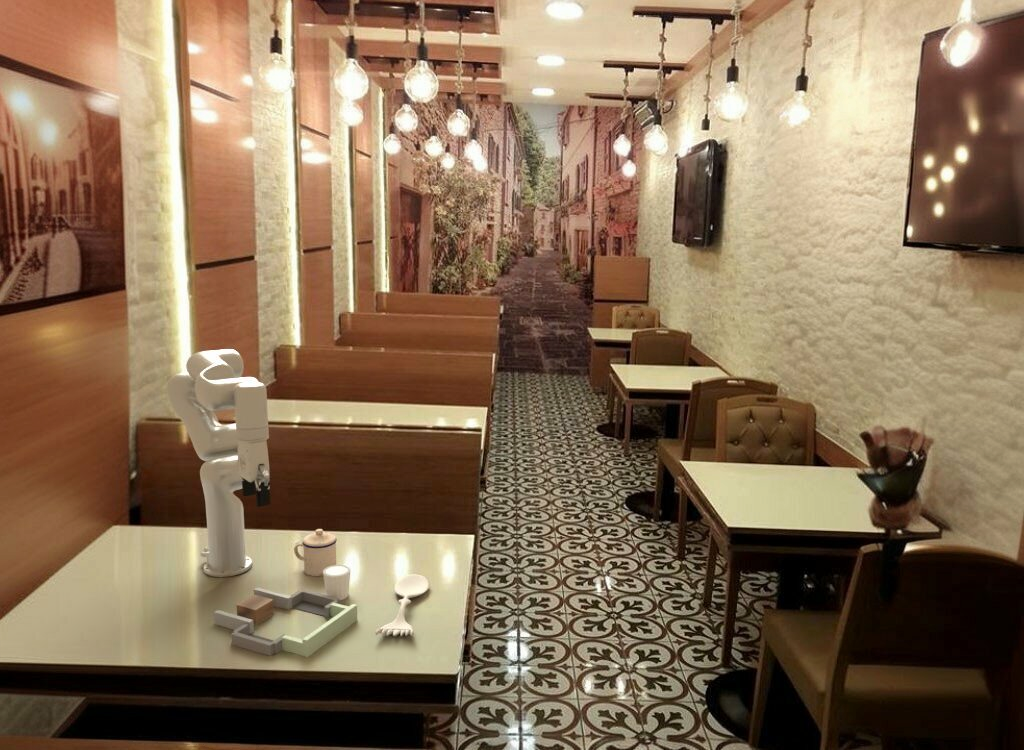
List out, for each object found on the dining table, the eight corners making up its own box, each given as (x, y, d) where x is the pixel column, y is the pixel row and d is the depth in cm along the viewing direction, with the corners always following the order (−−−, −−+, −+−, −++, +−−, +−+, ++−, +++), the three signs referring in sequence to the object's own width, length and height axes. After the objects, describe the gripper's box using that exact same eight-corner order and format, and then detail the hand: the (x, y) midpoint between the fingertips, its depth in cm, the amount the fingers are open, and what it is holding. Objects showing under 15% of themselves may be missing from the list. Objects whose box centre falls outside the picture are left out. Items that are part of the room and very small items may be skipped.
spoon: (373, 644, 178) (373, 631, 177) (398, 582, 209) (397, 570, 209) (413, 646, 178) (413, 632, 177) (431, 583, 209) (431, 571, 208)
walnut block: (237, 620, 188) (236, 604, 187) (255, 609, 193) (254, 594, 193) (256, 625, 185) (255, 610, 185) (274, 614, 191) (273, 599, 190)
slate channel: (208, 627, 184) (207, 611, 183) (263, 595, 200) (262, 580, 200) (307, 657, 172) (306, 640, 171) (357, 620, 188) (356, 604, 188)
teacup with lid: (342, 564, 219) (341, 525, 217) (329, 578, 210) (328, 537, 208) (302, 560, 221) (301, 521, 219) (287, 574, 212) (286, 533, 210)
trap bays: (229, 643, 177) (229, 633, 177) (301, 597, 199) (301, 588, 199) (272, 656, 172) (271, 646, 171) (341, 608, 194) (341, 598, 194)
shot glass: (344, 603, 197) (343, 577, 195) (319, 600, 198) (318, 574, 197) (355, 591, 203) (354, 565, 202) (330, 588, 205) (329, 563, 203)
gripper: (225, 428, 195) (229, 494, 198) (249, 442, 182) (253, 513, 184) (255, 424, 200) (258, 488, 202) (280, 437, 186) (284, 506, 189)
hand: (256, 500), depth 193 cm, fingers open, 9 cm apart
